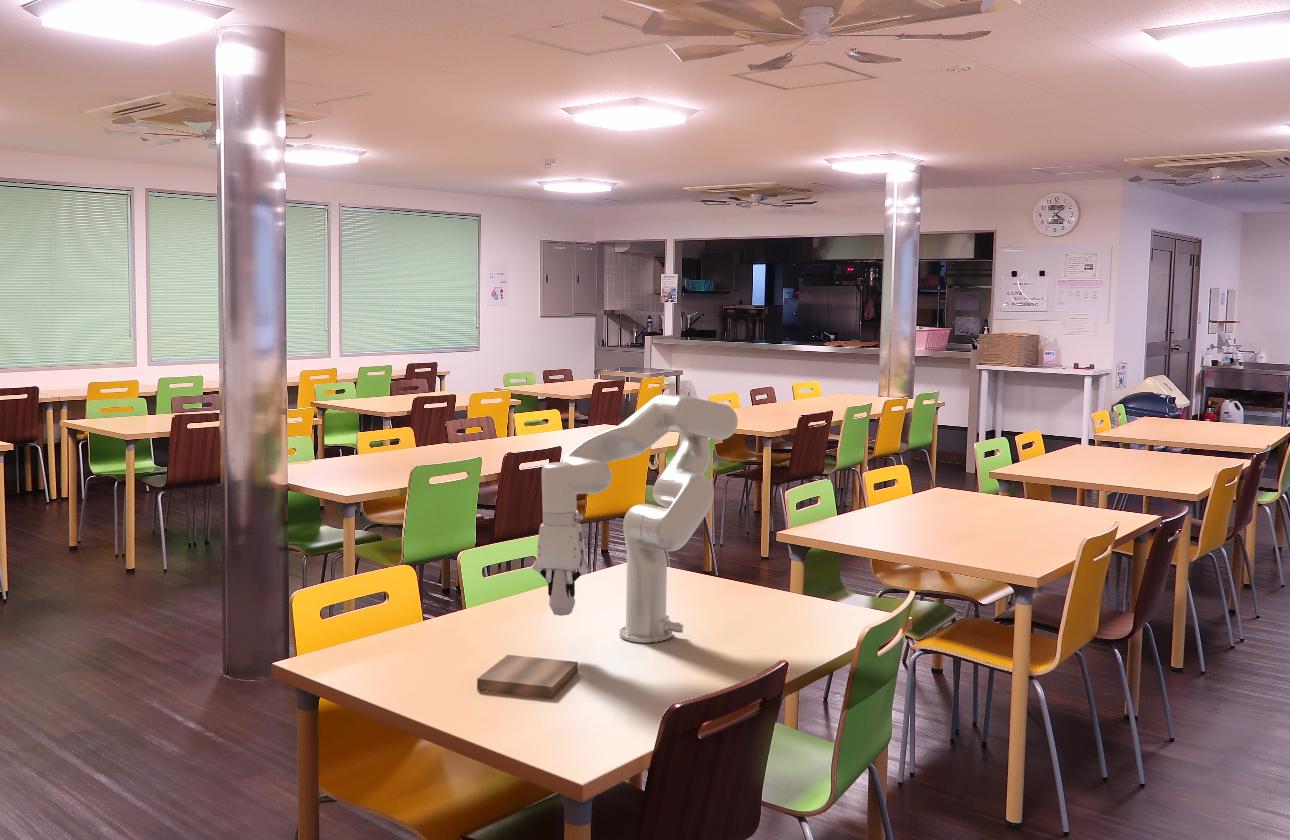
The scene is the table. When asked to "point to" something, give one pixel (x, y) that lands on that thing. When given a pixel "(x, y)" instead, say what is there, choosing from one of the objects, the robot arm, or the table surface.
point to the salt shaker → (561, 595)
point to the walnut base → (528, 676)
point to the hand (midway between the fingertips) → (561, 598)
